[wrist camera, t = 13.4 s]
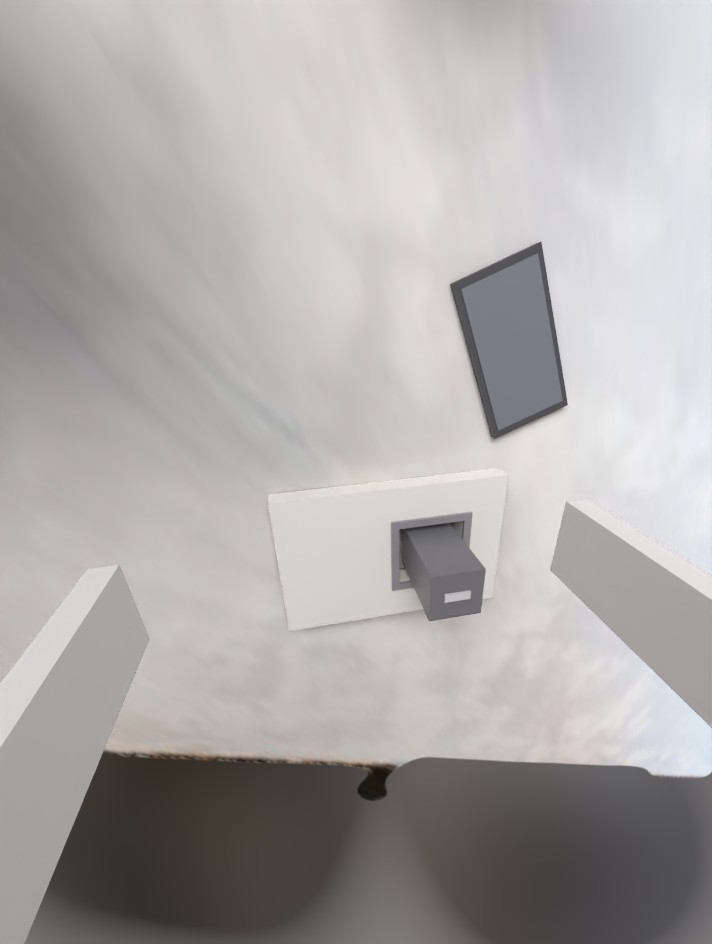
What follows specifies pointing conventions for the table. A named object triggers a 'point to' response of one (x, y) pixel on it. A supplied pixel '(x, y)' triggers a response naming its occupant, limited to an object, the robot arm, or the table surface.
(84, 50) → the table surface
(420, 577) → the grey rectangular block
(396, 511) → the outlet plate
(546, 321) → the phone
